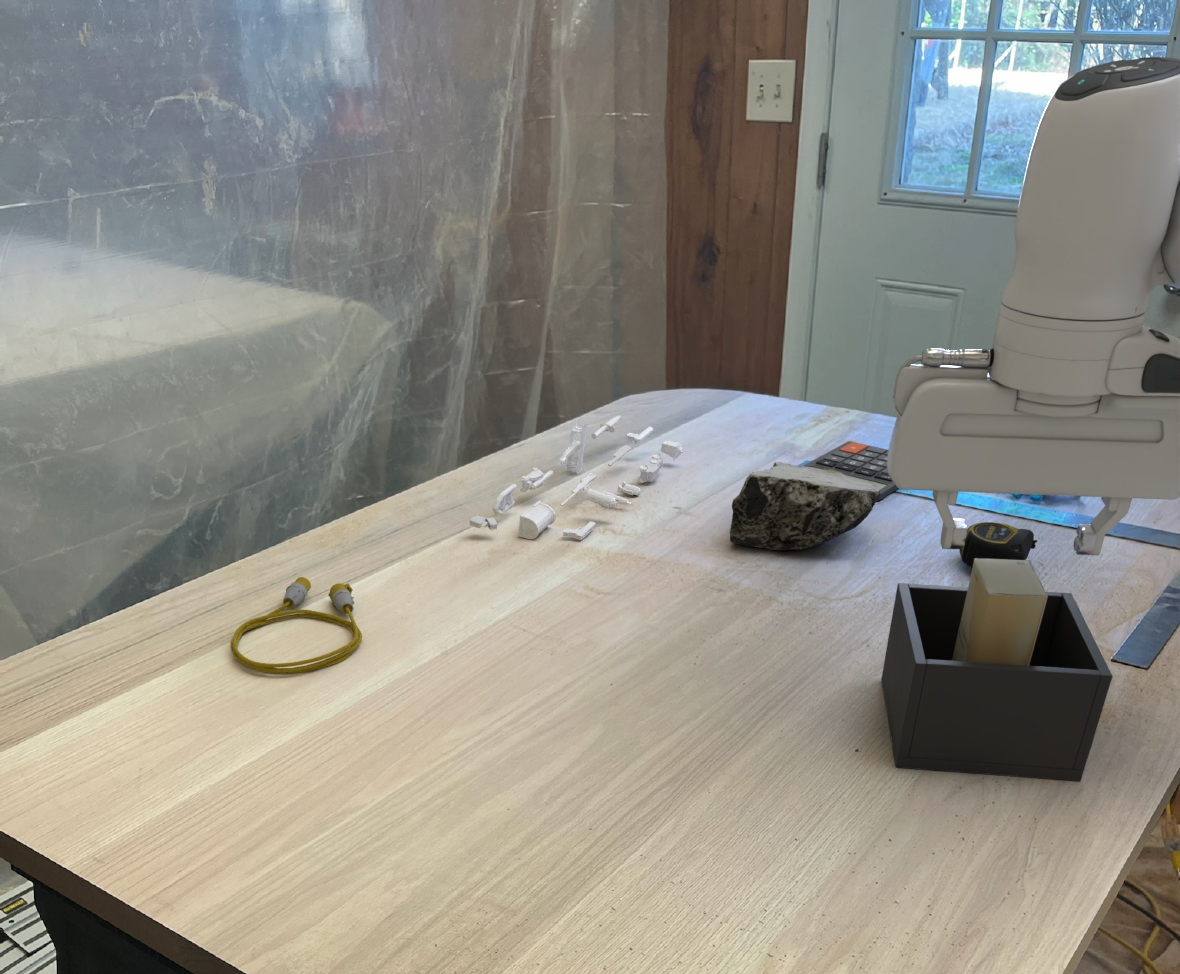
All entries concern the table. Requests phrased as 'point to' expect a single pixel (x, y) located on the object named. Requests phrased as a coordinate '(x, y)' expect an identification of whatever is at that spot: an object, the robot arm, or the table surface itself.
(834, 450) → the calculator
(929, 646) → the open box
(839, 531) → the concrete fragment
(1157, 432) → the robot arm
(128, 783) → the table surface
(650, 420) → the table surface
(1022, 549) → the tape measure
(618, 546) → the table surface
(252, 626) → the extension cord
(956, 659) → the cosmetic box
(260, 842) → the table surface
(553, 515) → the miniature set
